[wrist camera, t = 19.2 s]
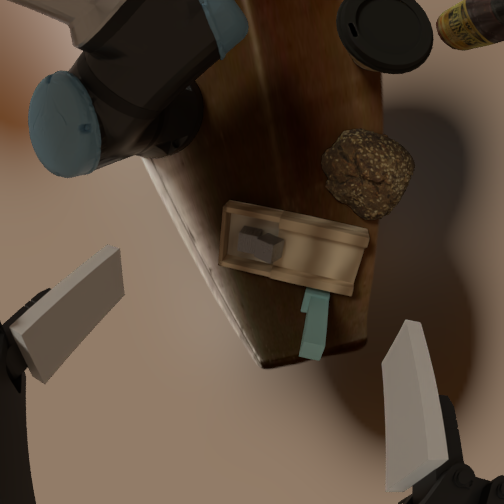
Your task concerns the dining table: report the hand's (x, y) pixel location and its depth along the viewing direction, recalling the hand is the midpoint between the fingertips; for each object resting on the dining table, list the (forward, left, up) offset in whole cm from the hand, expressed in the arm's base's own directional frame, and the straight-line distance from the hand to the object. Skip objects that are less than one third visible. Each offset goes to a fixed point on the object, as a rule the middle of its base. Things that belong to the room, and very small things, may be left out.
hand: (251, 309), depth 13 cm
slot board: (0, -13, -34) cm, 36 cm away
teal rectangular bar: (+6, -22, -34) cm, 41 cm away
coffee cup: (+6, +18, -34) cm, 39 cm away
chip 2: (-3, -13, -31) cm, 34 cm away
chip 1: (-7, -13, -32) cm, 35 cm away
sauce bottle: (+18, +25, -34) cm, 46 cm away
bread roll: (+8, +1, -35) cm, 36 cm away
